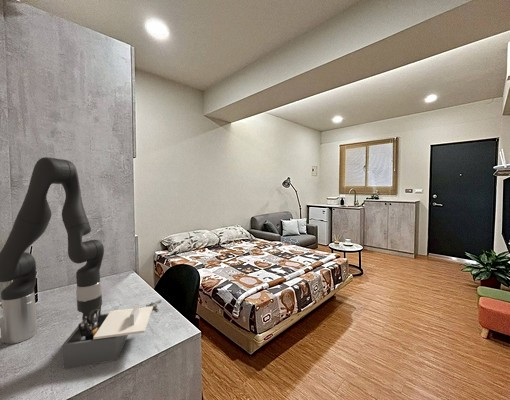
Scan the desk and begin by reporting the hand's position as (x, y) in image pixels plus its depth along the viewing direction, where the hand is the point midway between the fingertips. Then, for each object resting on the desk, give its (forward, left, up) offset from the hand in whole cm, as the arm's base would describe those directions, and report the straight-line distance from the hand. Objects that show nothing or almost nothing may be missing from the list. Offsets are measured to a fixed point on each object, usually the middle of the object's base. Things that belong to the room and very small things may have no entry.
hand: (91, 339), depth 89 cm
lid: (+12, 0, +5) cm, 13 cm away
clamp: (+15, +23, -4) cm, 28 cm away
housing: (+3, 0, -3) cm, 4 cm away
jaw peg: (0, 0, -1) cm, 1 cm away
